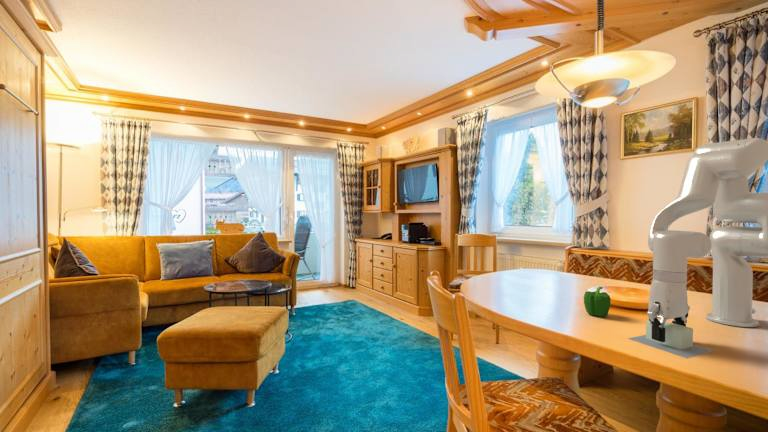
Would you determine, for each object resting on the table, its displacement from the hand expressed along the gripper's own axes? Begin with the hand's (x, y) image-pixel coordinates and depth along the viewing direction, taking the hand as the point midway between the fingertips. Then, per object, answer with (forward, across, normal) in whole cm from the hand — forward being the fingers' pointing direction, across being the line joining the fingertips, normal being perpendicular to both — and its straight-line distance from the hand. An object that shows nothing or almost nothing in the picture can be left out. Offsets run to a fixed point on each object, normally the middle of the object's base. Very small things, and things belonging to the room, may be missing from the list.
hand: (668, 338), depth 101 cm
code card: (+1, +2, +1) cm, 2 cm away
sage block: (+1, 0, 0) cm, 1 cm away
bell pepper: (+1, -6, -26) cm, 27 cm away
